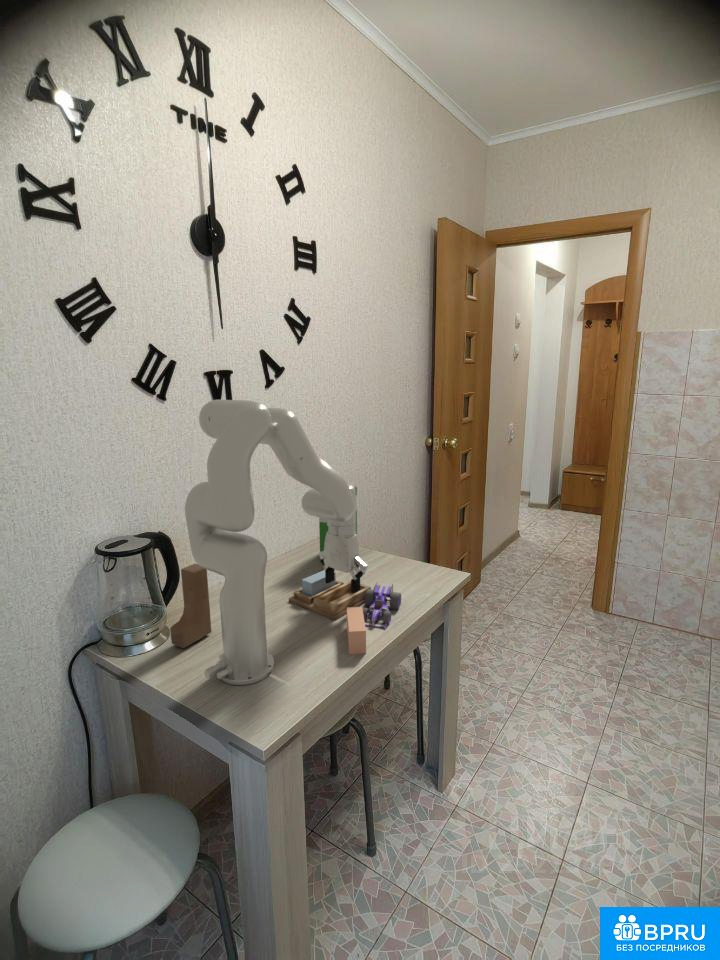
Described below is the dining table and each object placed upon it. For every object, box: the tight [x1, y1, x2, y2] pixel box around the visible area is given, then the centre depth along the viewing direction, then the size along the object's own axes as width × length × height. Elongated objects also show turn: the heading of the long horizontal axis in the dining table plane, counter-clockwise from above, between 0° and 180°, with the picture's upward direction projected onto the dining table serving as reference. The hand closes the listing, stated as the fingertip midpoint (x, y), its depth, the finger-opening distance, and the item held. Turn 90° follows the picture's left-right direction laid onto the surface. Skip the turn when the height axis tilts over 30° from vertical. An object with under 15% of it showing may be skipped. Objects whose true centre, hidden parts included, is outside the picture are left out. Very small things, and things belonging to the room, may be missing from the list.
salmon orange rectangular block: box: [346, 606, 367, 655], centre depth 121 cm, size 12×4×6 cm, turn 4°
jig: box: [288, 580, 372, 621], centre depth 143 cm, size 17×18×4 cm
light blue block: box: [301, 569, 337, 597], centre depth 146 cm, size 10×4×5 cm, turn 140°
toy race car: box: [362, 582, 402, 630], centre depth 134 cm, size 10×15×6 cm, turn 165°
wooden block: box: [169, 563, 212, 649], centre depth 121 cm, size 9×4×18 cm, turn 148°
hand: (342, 586), depth 139 cm, fingers open, 9 cm apart
